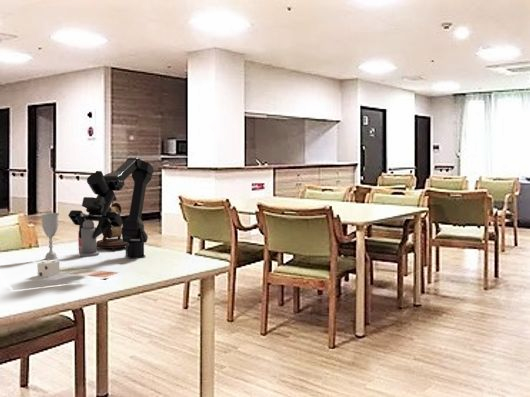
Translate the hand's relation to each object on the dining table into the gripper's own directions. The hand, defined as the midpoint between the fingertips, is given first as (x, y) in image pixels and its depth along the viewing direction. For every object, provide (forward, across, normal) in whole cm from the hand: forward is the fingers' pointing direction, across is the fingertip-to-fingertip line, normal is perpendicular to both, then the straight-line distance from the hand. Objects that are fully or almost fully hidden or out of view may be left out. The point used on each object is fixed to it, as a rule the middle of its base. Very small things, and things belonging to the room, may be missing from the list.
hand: (86, 237), depth 195 cm
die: (+13, -12, +6) cm, 19 cm away
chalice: (-6, -31, +26) cm, 41 cm away
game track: (+8, -3, +11) cm, 14 cm away
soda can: (-13, -20, +32) cm, 40 cm away
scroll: (-26, -19, +45) cm, 55 cm away
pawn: (+4, 0, +6) cm, 7 cm away
